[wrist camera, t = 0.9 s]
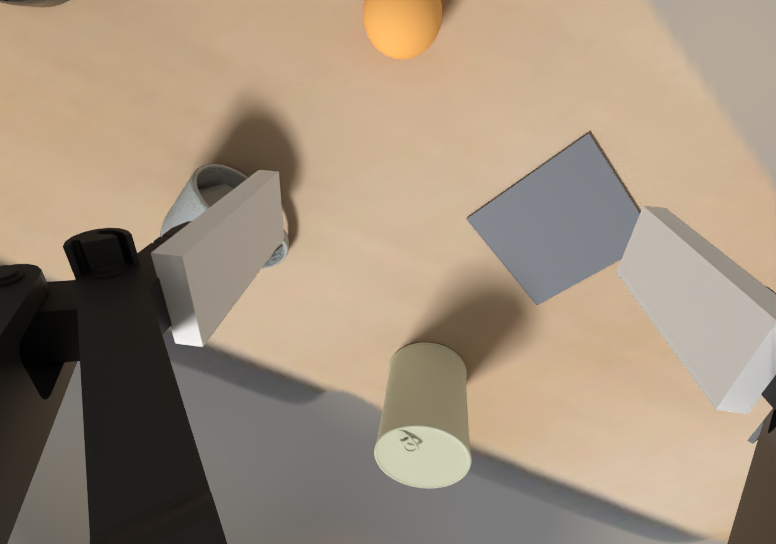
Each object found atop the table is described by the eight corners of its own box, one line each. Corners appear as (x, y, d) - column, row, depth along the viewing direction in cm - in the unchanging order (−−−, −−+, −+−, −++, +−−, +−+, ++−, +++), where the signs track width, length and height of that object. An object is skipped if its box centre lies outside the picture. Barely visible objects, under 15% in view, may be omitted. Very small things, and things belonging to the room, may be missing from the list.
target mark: (466, 218, 38) (466, 219, 38) (588, 132, 33) (589, 133, 33) (536, 304, 42) (536, 305, 41) (655, 238, 37) (656, 239, 37)
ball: (355, 13, 31) (338, 8, 26) (410, -49, 29) (403, -66, 24) (401, 73, 33) (394, 79, 28) (457, 20, 30) (459, 16, 26)
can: (442, 330, 45) (441, 417, 34) (480, 386, 48) (490, 480, 38) (373, 358, 48) (353, 446, 38) (413, 409, 51) (405, 502, 41)
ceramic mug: (182, 210, 41) (133, 244, 35) (222, 152, 38) (176, 178, 31) (266, 275, 44) (235, 318, 38) (310, 228, 41) (285, 265, 34)
